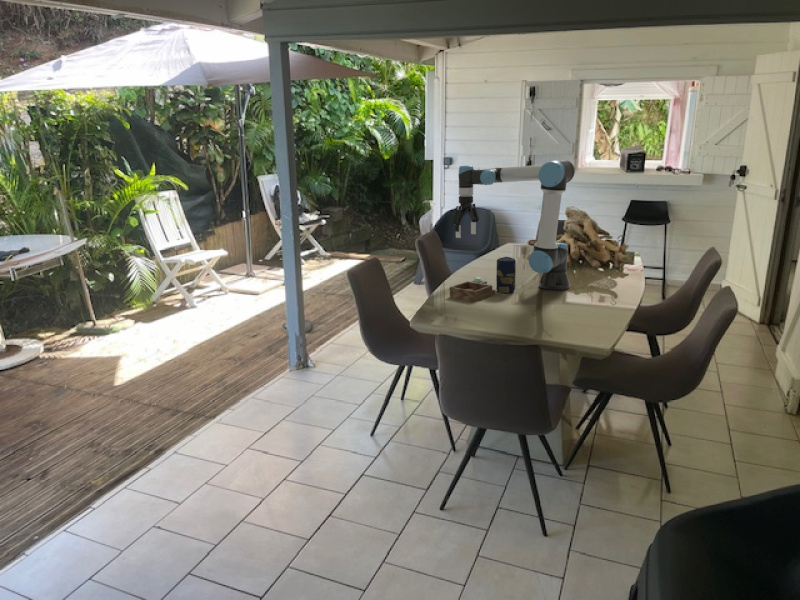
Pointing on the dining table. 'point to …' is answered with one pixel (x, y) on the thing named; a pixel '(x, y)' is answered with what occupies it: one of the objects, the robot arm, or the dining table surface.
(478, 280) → the button
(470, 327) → the dining table surface
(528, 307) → the dining table surface
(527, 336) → the dining table surface
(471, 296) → the wooden tray
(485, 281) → the button console
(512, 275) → the canister
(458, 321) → the dining table surface
